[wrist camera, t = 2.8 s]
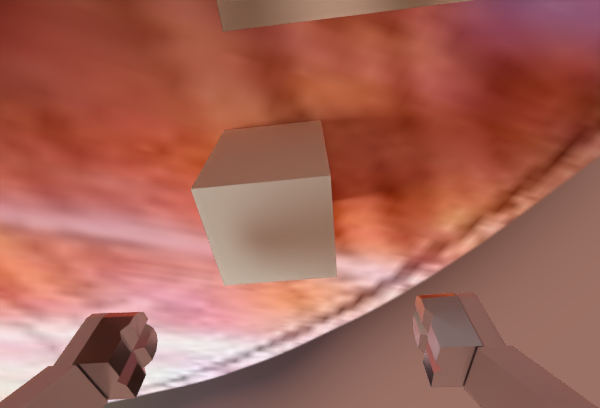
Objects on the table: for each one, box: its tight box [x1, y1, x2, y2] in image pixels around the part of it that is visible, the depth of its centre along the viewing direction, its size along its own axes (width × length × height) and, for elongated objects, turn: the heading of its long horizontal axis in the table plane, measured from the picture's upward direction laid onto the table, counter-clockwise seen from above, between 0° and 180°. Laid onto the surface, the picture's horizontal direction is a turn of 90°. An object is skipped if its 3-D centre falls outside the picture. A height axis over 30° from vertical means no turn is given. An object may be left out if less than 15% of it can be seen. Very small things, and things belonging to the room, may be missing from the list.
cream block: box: [191, 120, 337, 286], centre depth 15 cm, size 5×5×6 cm
